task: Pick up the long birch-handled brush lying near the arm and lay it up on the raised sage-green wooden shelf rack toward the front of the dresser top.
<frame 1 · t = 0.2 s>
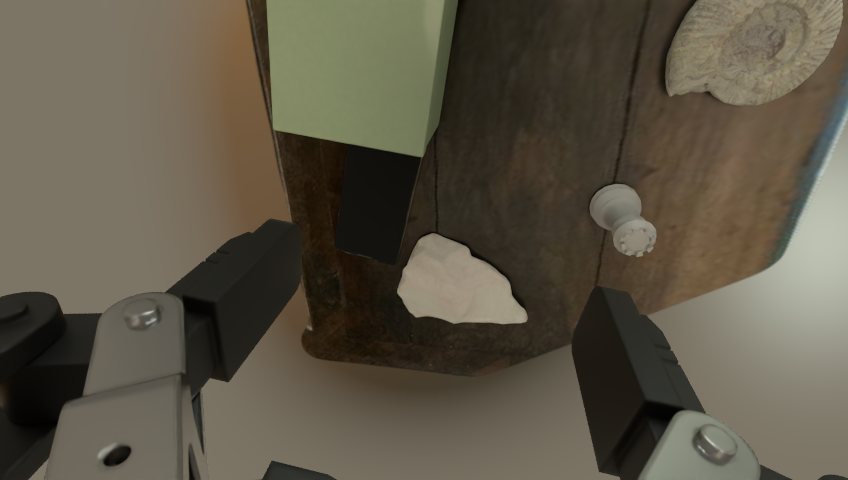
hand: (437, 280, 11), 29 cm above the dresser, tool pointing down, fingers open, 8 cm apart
fossil: (735, 39, 31), on the dresser
shelf: (382, 51, 35), on the dresser
smartphone: (378, 195, 42), on the dresser
rook chess piece: (612, 202, 39), on the dresser
stone: (466, 284, 46), on the dresser
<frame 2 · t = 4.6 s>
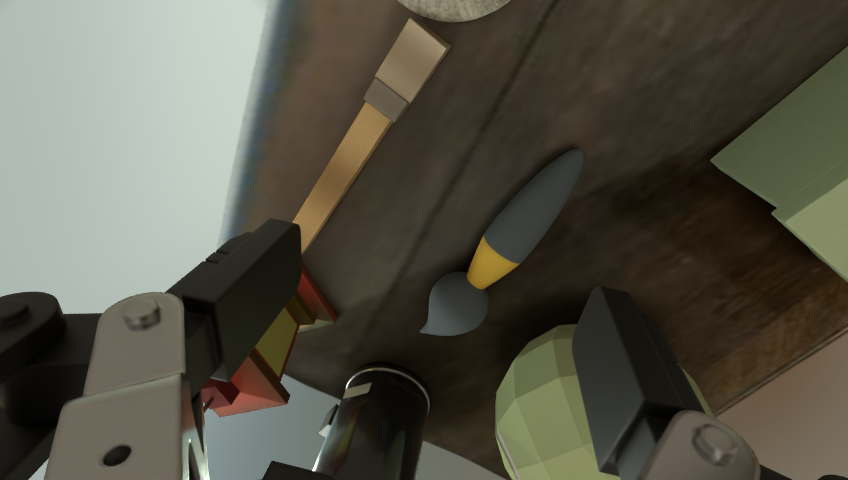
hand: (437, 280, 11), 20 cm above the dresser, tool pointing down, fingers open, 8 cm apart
decorative sphere: (578, 353, 37), on the dresser
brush: (355, 155, 31), on the dresser
paintbrush: (491, 240, 33), on the dresser
light fixture: (288, 296, 40), on the dresser
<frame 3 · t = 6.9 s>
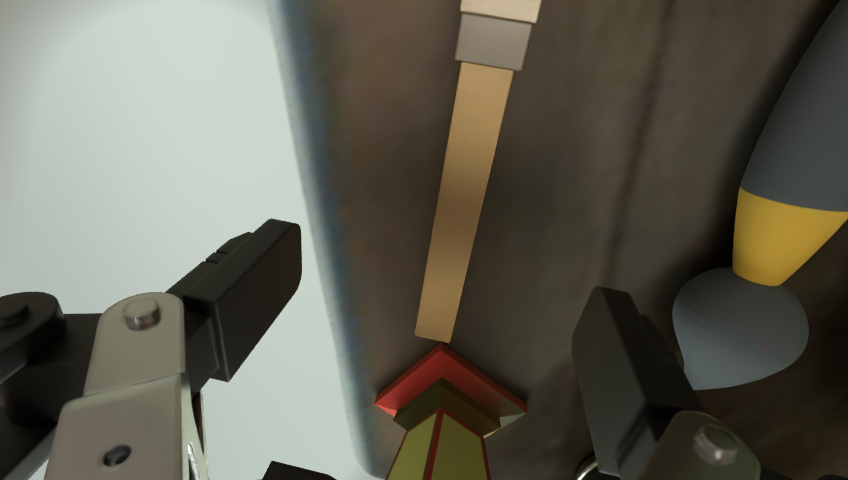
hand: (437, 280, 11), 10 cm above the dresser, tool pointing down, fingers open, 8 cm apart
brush: (467, 167, 20), on the dresser
paintbrush: (742, 197, 19), on the dresser
light fixture: (449, 397, 28), on the dresser
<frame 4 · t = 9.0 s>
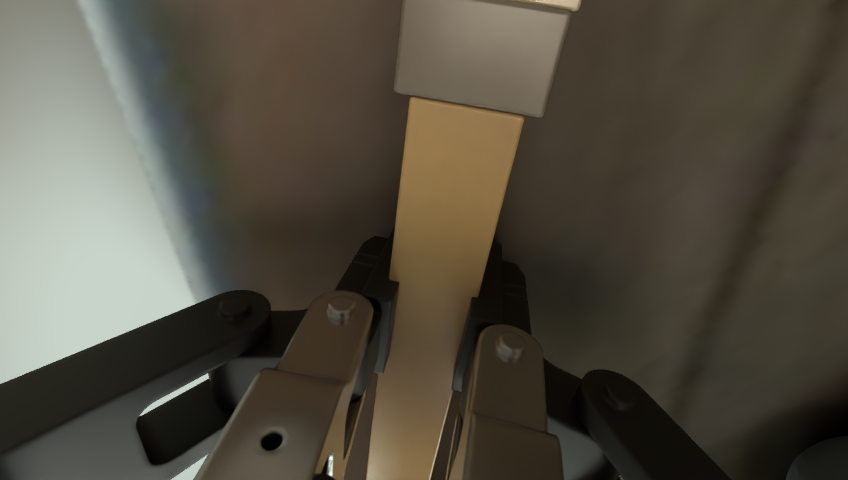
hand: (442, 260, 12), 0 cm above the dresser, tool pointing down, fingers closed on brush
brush: (440, 259, 12), on the dresser, touching gripper
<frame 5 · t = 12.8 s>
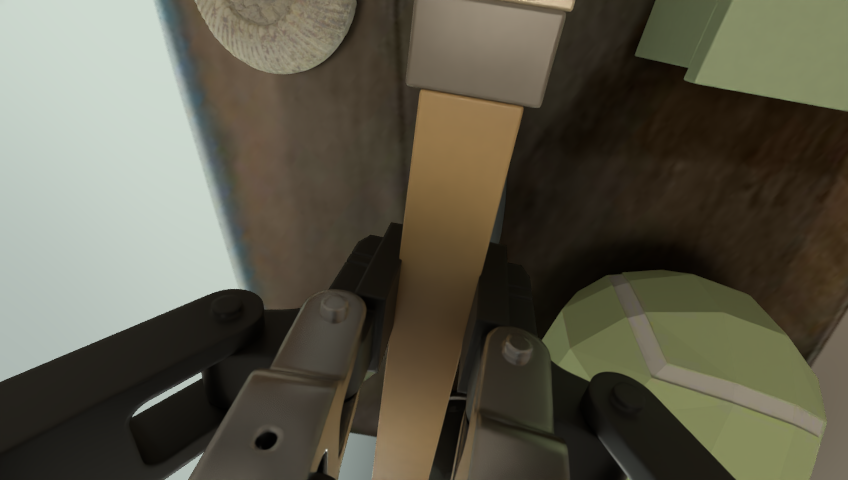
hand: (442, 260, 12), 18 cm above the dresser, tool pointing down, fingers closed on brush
decorative sphere: (625, 312, 33), on the dresser
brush: (446, 244, 13), point 17 cm above the dresser, touching gripper
paintbrush: (469, 235, 32), on the dresser
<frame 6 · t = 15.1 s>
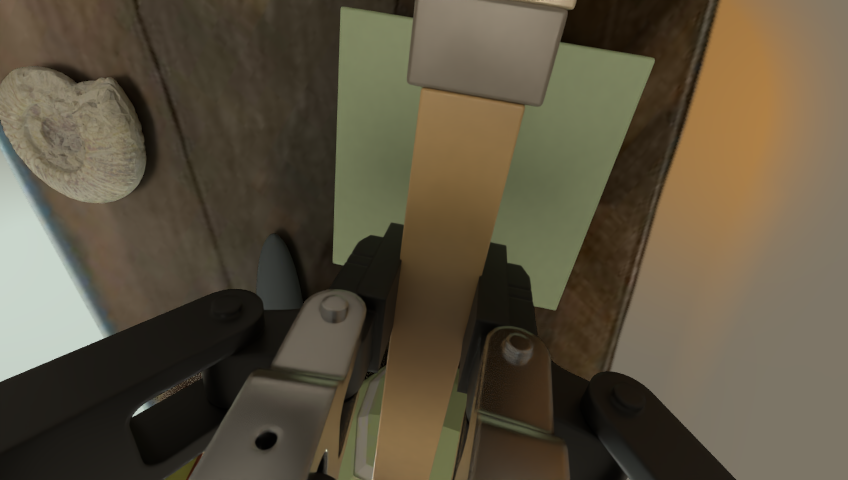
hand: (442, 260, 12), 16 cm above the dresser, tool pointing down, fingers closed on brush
fossil: (98, 130, 30), on the dresser
decorative sphere: (432, 384, 38), on the dresser
shelf: (473, 132, 26), on the dresser
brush: (446, 243, 13), point 15 cm above the dresser, touching gripper
paintbrush: (290, 320, 37), on the dresser
light fixture: (205, 417, 46), on the dresser
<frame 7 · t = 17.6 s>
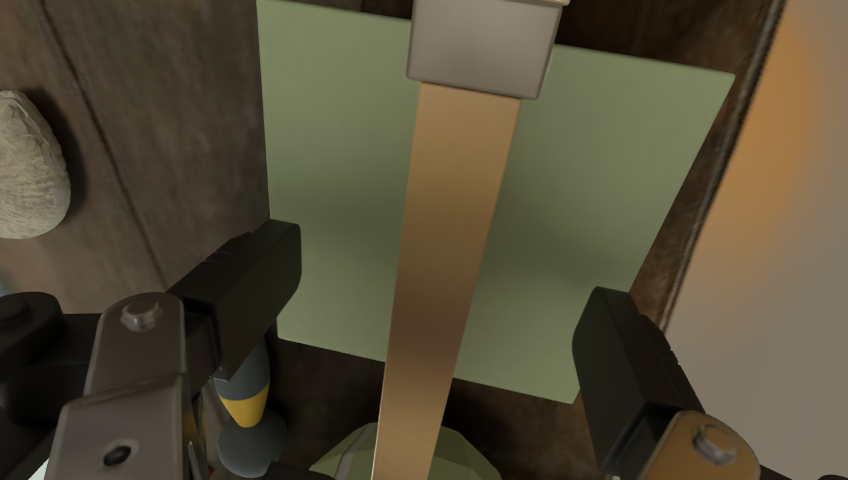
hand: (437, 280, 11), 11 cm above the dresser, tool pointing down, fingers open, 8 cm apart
fossil: (16, 152, 25), on the dresser
decorative sphere: (422, 439, 33), on the dresser
shelf: (465, 158, 20), on the dresser
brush: (445, 239, 13), point 9 cm above the dresser, touching shelf
paintbrush: (256, 367, 32), on the dresser
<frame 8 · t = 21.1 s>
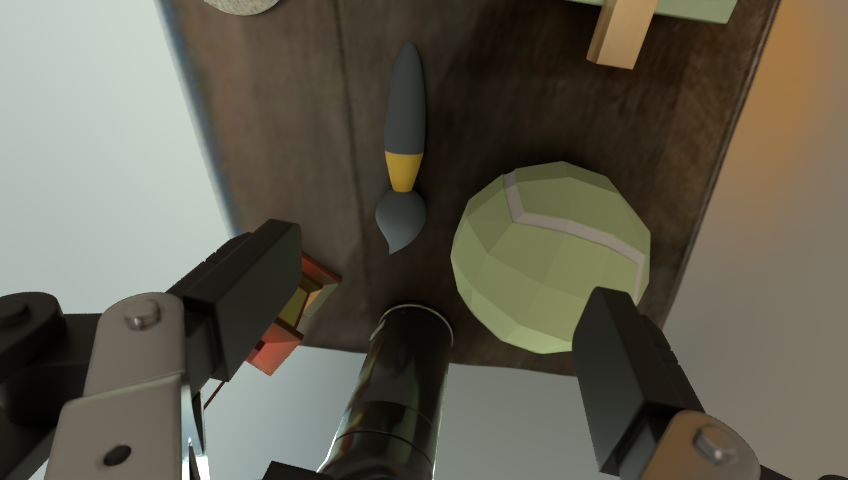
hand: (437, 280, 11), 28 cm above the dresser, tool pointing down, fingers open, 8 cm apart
decorative sphere: (536, 217, 40), on the dresser
paintbrush: (403, 153, 39), on the dresser
light fixture: (301, 279, 48), on the dresser
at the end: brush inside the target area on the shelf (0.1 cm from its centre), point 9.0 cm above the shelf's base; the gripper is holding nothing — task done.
